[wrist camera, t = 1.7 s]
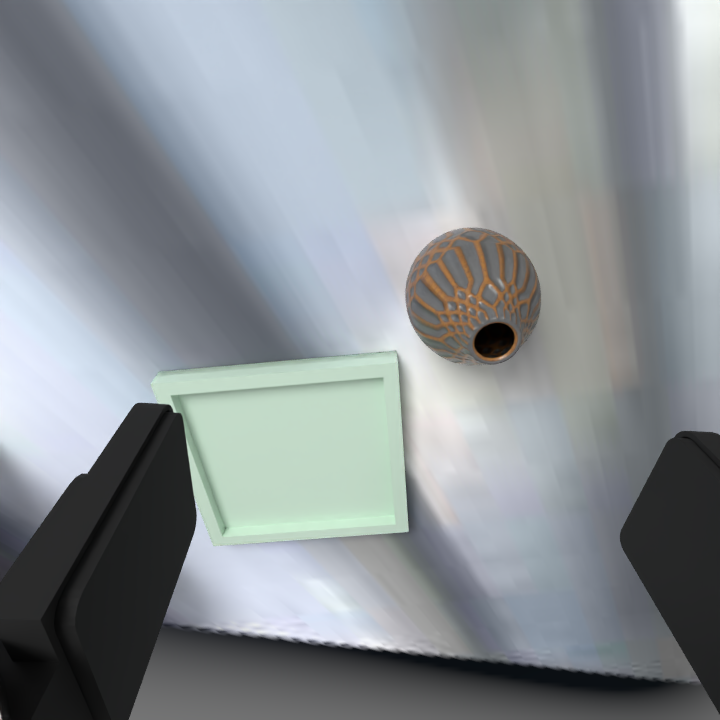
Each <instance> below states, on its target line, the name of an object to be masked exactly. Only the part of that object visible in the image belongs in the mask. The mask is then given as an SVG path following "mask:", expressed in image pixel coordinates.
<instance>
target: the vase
mask: <svg viewBox="0 0 720 720" xmlns="http://www.w3.org/2000/svg"><path fill="white" fill-rule="evenodd" d="M405 294H406V307H407V312H408V315H409V319H410V322H411V324H412V326H413V328H414V330H415V331H416V333H417V335H418V336H419V337H420V339H421V340H422V341H423V342H424V343H425V344H426V345H427V346H428V347H429V348H430V349H431V350H432V351H434V352H435V353H436V354H438V355H439V356H441V357H443V358H445V359H447V360H449V361H452V362H455V363H458V364H464V365H484V364H498V363H502V362H504V361H506V360H508V359H509V358H511V357H512V356H513V355H514V354H515V353H516V352H517V351H518V349H519V347H521V346H522V345H523V344H524V342H525V341H526V340H527V339H528V337H529V336H530V334H531V333H532V331H533V329H534V327H535V325H536V323H537V320H538V317H539V313H540V307H541V291H540V284H539V280H538V276H537V273H536V271H535V269H534V266H533V264H532V263H531V261H530V259H529V258H528V256H527V255H526V254H525V253H524V252H523V251H522V249H521V248H519V247H518V246H517V245H516V244H515V243H514V242H512V241H511V240H510V239H508V238H507V237H505V236H503V235H501V234H499V233H497V232H494V231H491V230H487V229H482V228H462V229H457V230H453V231H450V232H447V233H445V234H443V235H441V236H439V237H437V238H436V239H434V240H433V241H431V242H430V243H429V244H428V245H427V246H426V247H425V248H424V249H423V250H422V251H421V252H420V254H419V255H418V256H417V258H416V259H415V261H414V263H413V265H412V267H411V269H410V272H409V275H408V278H407V282H406V292H405Z"/></svg>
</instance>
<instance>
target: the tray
mask: <svg viewBox="0 0 720 720" xmlns="http://www.w3.org/2000/svg"><path fill="white" fill-rule="evenodd" d="M151 387H152V389H153V392H154V394H155V397H156V400H157V402H158V404H169V405H171V407H172V408H173V412H174V413H181V414H182V417H183V422H184V429H185V436H186V443H187V450H188V457H189V464H190V471H191V478H192V485H193V493H194V497H195V500H196V503H197V505H198V508H199V510H200V513H201V515H202V518H203V521H204V523H205V526H206V528H207V531H208V533H209V536H210V539H211V541H212V544H213V546H223V545H236V544H250V543H264V542H277V541H291V540H305V539H318V538H332V537H345V536H359V535H373V534H386V533H400V532H409V529H408V513H407V498H406V482H405V466H404V450H403V434H402V418H401V403H400V387H399V371H398V360H397V353H396V351H389V352H377V353H366V354H355V355H343V356H332V357H321V358H310V359H298V360H287V361H276V362H264V363H253V364H242V365H230V366H219V367H208V368H197V369H185V370H174V371H163V372H158V374H157V375H156V377H155V378H154V380H153V381H152V383H151Z"/></svg>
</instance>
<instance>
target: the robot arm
mask: <svg viewBox="0 0 720 720" xmlns="http://www.w3.org/2000/svg"><path fill="white" fill-rule="evenodd" d="M196 517H197V515H196V507H195V500H194V493H193V485H192V478H191V471H190V464H189V457H188V450H187V443H186V436H185V429H184V422H183V417H182V414H181V413H174V412H173V408H172V407H171V405H169V404H153V403H137V404H135V405H134V406H133V407H132V409H131V410H130V412H129V413H128V415H127V416H126V418H125V419H124V421H123V422H122V424H121V425H120V427H119V428H118V429H117V431H116V432H115V434H114V435H113V437H112V438H111V440H110V441H109V443H108V444H107V446H106V447H105V449H104V450H103V452H102V453H101V454H100V456H99V457H98V459H97V460H96V462H95V463H94V465H93V466H92V468H91V469H90V471H89V472H88V474H81V475H79V476H77V477H76V478H75V479H74V480H73V481H72V482H71V483H70V484H69V486H68V487H67V489H66V490H65V492H64V493H63V494H62V496H61V497H60V499H59V500H58V501H57V503H56V504H55V506H54V507H53V509H52V510H51V511H50V513H49V514H48V516H47V517H46V518H45V520H44V521H43V523H42V524H41V526H40V527H39V528H38V530H37V531H36V533H35V534H34V535H33V537H32V538H31V540H30V541H29V543H28V544H27V545H26V547H25V548H24V550H23V551H22V552H21V554H20V555H19V557H18V558H17V560H16V561H15V562H14V564H13V565H12V567H11V568H10V569H9V571H8V572H7V574H6V575H5V577H4V578H3V579H2V581H1V582H0V720H128V719H129V717H130V714H131V711H132V708H133V705H134V703H135V699H136V697H137V694H138V691H139V688H140V686H141V683H142V680H143V677H144V674H145V671H146V669H147V666H148V663H149V660H150V657H151V654H152V651H153V649H154V646H155V643H156V640H157V637H158V634H159V631H160V629H161V626H162V623H163V620H164V617H165V614H166V612H167V609H168V606H169V603H170V600H171V597H172V594H173V592H174V589H175V586H176V583H177V580H178V577H179V574H180V572H181V569H182V566H183V563H184V560H185V557H186V555H187V552H188V549H189V546H190V543H191V540H192V537H193V535H194V531H195V527H196ZM620 542H621V545H622V548H623V550H624V552H625V554H626V555H627V557H628V559H629V561H630V562H631V564H632V566H633V567H634V569H635V571H636V572H637V574H638V576H639V578H640V579H641V581H642V583H643V584H644V586H645V588H646V589H647V591H648V593H649V595H650V596H651V598H652V600H653V601H654V603H655V605H656V607H657V608H658V610H659V612H660V613H661V615H662V617H663V618H664V620H665V622H666V624H667V625H668V627H669V629H670V630H671V632H672V634H673V636H674V637H675V639H676V641H677V642H678V644H679V646H680V647H681V649H682V651H683V653H684V654H685V656H686V658H687V659H688V661H689V663H690V665H691V666H692V668H693V670H694V671H695V673H696V675H697V676H698V678H699V680H700V682H701V683H702V685H703V687H704V688H705V690H706V692H707V693H708V695H709V697H710V699H711V700H712V702H713V704H714V705H715V707H716V708H717V710H718V712H719V714H720V435H719V434H716V433H713V432H696V431H682V432H680V433H678V434H676V436H675V437H674V438H672V439H670V440H669V441H668V442H667V443H666V445H665V447H664V449H663V451H662V453H661V455H660V457H659V459H658V461H657V462H656V464H655V466H654V468H653V470H652V472H651V474H650V476H649V478H648V480H647V482H646V484H645V485H644V487H643V489H642V491H641V493H640V495H639V497H638V499H637V501H636V503H635V505H634V507H633V508H632V510H631V512H630V514H629V516H628V518H627V520H626V522H625V524H624V526H623V528H622V530H621V533H620Z"/></svg>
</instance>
